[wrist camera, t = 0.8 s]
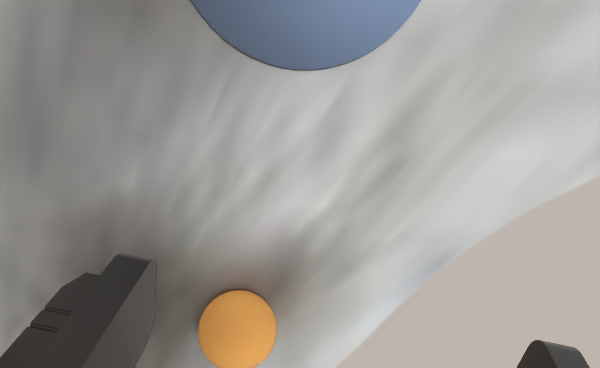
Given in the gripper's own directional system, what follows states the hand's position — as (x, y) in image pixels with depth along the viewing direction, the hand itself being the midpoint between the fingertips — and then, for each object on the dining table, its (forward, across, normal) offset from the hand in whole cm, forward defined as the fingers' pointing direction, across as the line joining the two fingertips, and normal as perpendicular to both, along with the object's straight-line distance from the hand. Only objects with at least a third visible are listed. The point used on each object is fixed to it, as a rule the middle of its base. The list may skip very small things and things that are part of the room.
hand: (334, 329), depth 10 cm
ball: (+17, +4, +18) cm, 25 cm away
